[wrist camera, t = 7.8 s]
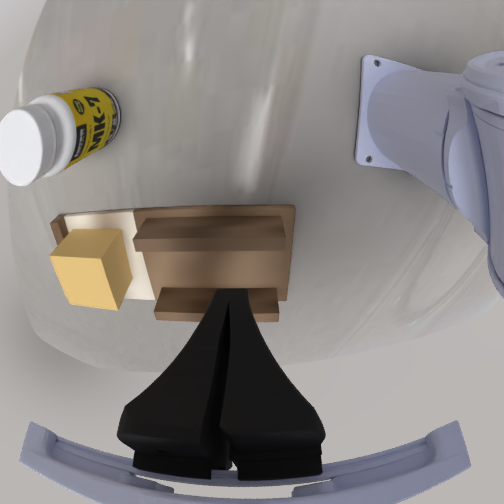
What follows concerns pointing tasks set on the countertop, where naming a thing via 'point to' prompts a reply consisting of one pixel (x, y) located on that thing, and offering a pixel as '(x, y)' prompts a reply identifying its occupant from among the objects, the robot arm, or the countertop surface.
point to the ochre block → (93, 267)
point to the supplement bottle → (56, 133)
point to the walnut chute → (200, 254)
